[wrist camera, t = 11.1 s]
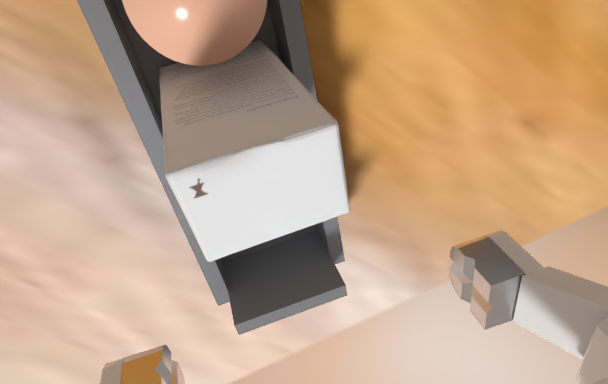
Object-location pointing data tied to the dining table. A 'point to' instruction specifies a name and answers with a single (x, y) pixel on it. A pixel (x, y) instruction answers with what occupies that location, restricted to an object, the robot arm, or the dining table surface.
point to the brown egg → (197, 27)
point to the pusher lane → (148, 121)
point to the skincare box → (248, 151)
